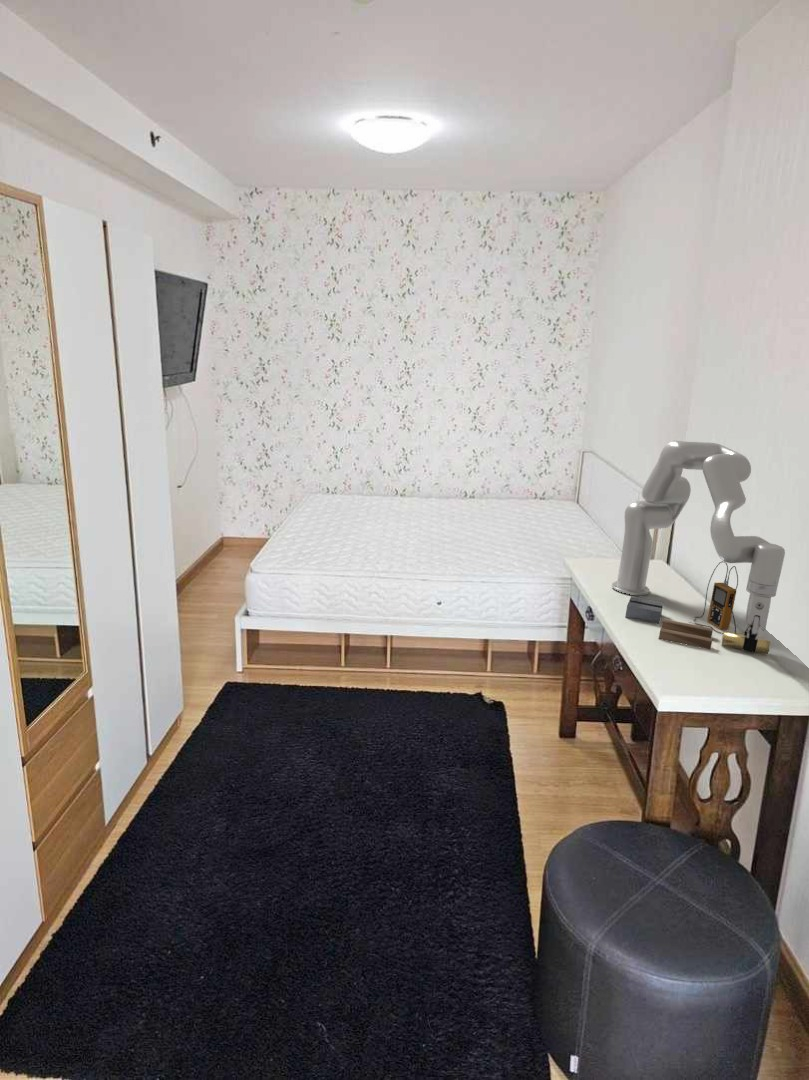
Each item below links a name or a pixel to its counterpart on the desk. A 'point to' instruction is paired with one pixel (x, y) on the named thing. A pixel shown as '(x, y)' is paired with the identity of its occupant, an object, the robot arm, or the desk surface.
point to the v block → (644, 610)
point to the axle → (738, 642)
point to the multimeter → (721, 604)
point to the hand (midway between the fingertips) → (748, 647)
